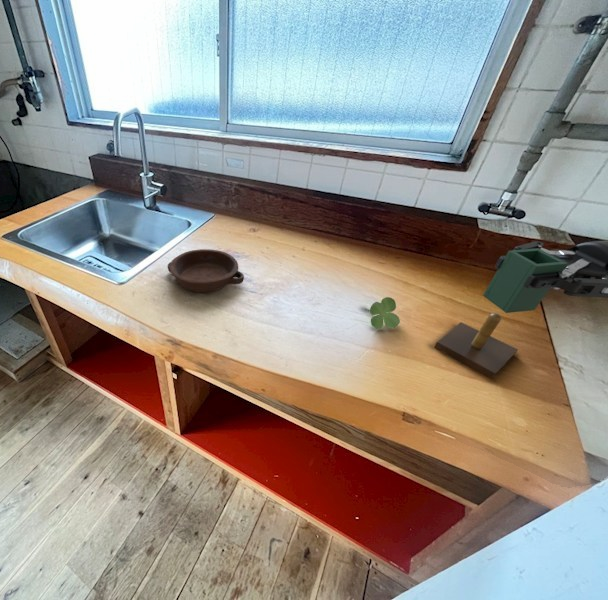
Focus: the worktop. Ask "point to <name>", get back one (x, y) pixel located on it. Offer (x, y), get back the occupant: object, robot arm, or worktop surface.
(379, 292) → the worktop surface
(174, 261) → the dish
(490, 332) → the brown peg stand
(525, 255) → the sleeve
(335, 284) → the worktop surface
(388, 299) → the green leafy piece
